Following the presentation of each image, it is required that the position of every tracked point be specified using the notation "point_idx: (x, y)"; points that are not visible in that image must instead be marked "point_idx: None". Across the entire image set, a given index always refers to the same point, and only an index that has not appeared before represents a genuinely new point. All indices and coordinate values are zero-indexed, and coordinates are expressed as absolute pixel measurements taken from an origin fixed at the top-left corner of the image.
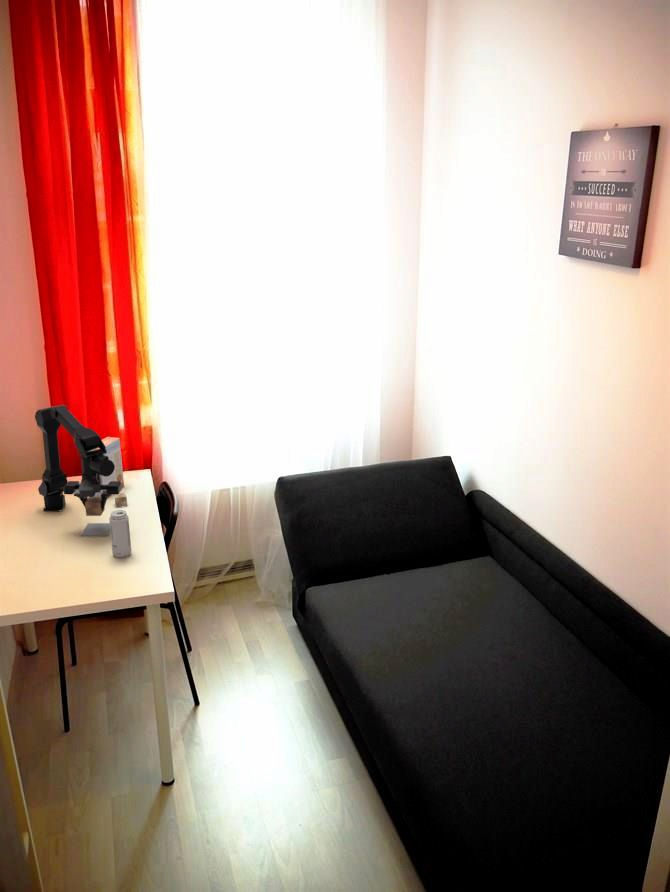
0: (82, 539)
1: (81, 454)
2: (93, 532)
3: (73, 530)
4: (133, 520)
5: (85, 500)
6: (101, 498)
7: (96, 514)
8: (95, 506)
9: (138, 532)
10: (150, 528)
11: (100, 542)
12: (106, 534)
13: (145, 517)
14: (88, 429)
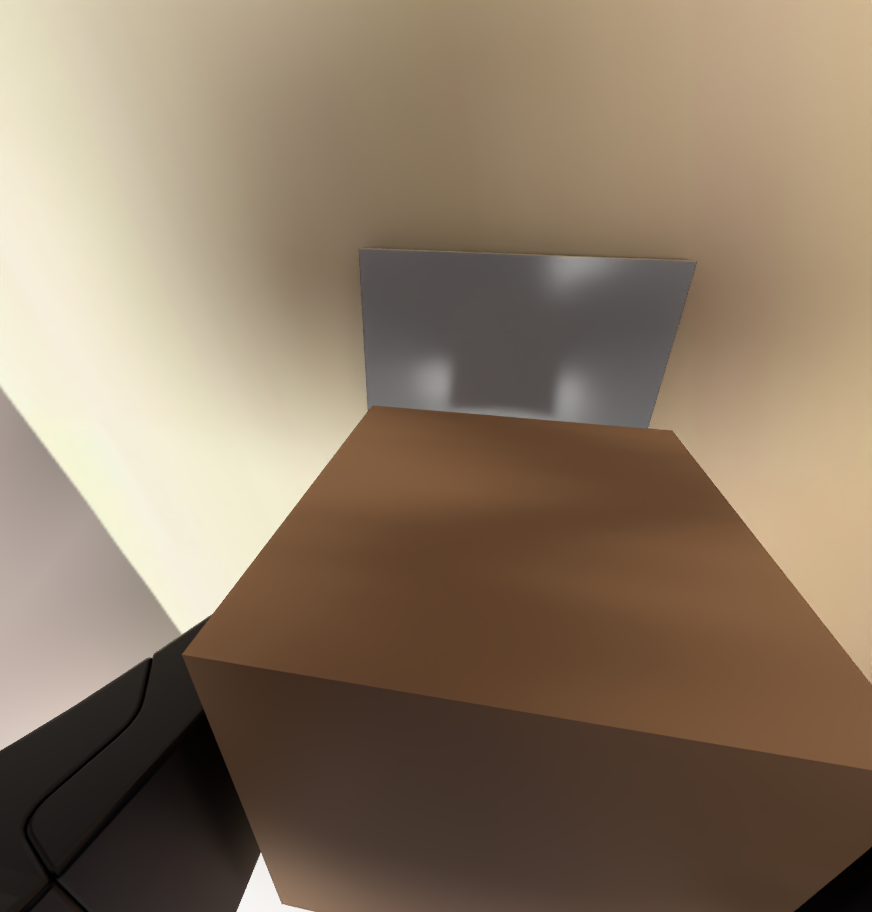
0: (663, 144)
1: None
2: (531, 314)
3: (774, 421)
4: (248, 550)
5: (851, 902)
6: (19, 903)
7: (451, 425)
8: (418, 547)
9: (93, 328)
10: (44, 403)
11: (393, 27)
12: (362, 248)
13: (186, 580)
14: None
